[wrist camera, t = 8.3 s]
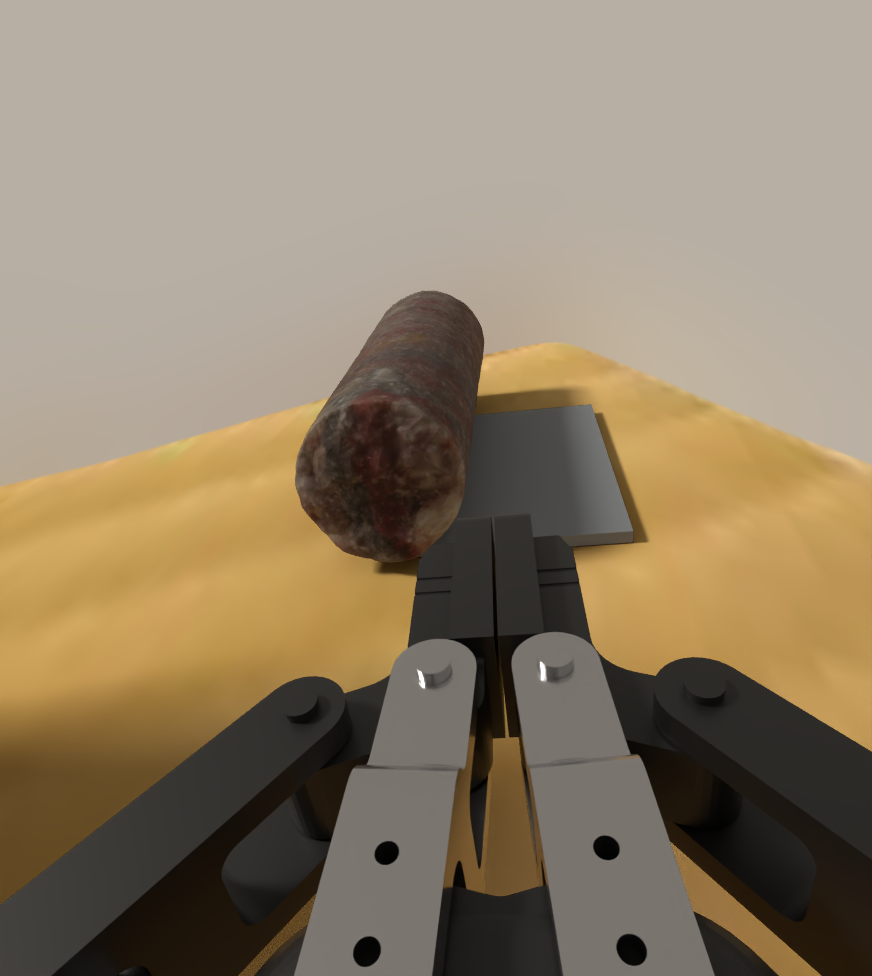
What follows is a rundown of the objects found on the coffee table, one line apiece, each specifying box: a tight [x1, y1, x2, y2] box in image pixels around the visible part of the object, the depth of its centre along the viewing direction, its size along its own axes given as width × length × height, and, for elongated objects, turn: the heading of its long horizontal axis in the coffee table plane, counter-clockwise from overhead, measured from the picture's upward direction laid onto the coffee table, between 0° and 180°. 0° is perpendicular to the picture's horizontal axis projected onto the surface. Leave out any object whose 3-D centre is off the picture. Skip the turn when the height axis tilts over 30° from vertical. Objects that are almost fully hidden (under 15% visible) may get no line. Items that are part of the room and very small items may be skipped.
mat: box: [418, 404, 633, 557], centre depth 37 cm, size 11×14×1 cm
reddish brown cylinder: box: [295, 291, 484, 563], centre depth 37 cm, size 8×7×20 cm
